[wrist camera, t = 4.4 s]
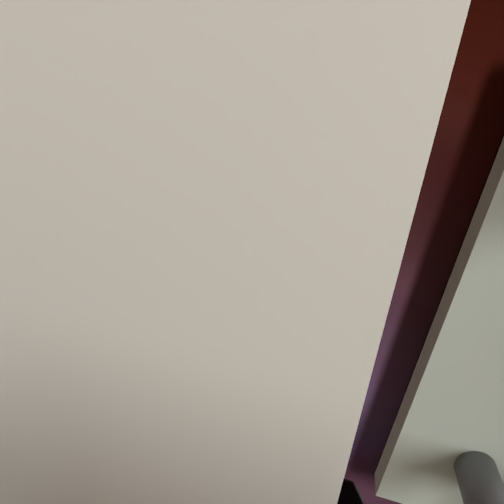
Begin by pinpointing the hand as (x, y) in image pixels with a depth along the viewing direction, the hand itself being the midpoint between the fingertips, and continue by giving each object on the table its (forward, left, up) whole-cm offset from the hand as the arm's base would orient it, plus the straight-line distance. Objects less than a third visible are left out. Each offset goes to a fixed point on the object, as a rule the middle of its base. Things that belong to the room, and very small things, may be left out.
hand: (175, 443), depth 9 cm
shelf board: (0, 0, -1) cm, 1 cm away
